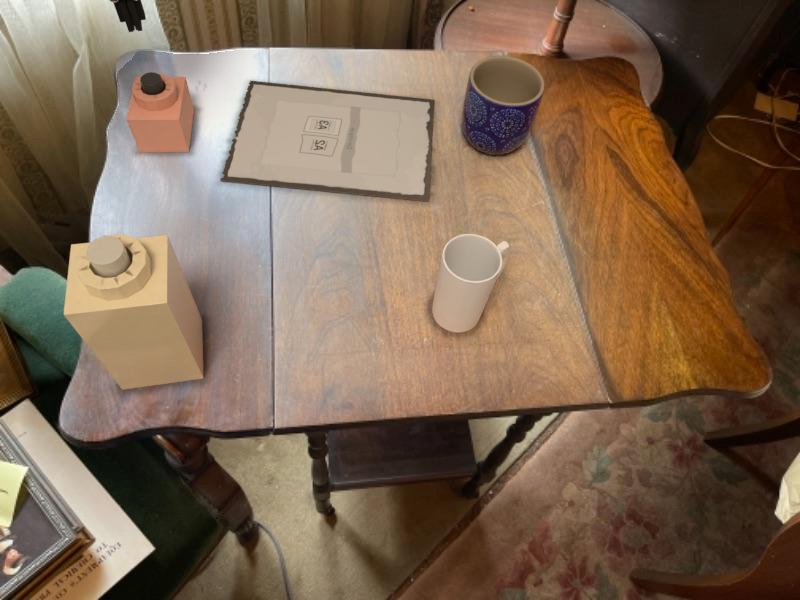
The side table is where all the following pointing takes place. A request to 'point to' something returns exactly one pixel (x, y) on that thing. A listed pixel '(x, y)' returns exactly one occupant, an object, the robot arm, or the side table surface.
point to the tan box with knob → (137, 314)
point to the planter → (501, 103)
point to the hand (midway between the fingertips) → (135, 24)
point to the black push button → (152, 83)
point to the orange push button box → (162, 116)
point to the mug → (466, 280)
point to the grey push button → (108, 256)
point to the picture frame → (333, 141)
